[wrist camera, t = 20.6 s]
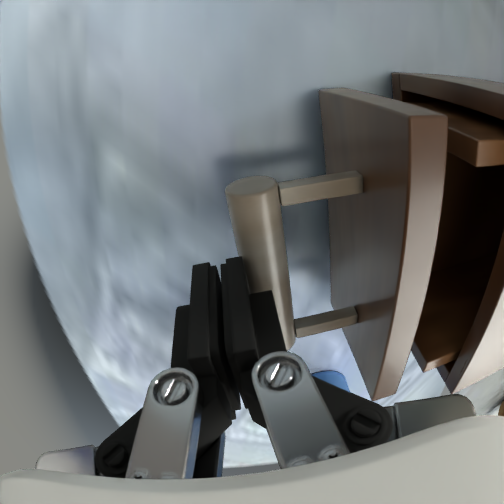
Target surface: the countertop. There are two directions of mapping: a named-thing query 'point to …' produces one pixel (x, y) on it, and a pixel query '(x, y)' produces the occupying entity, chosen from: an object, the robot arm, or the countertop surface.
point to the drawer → (387, 229)
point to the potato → (501, 409)
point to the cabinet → (500, 283)
